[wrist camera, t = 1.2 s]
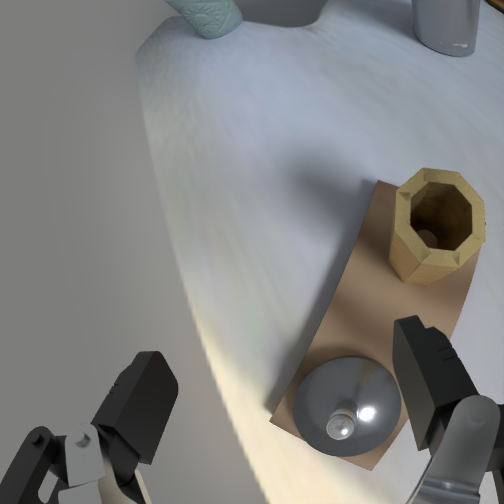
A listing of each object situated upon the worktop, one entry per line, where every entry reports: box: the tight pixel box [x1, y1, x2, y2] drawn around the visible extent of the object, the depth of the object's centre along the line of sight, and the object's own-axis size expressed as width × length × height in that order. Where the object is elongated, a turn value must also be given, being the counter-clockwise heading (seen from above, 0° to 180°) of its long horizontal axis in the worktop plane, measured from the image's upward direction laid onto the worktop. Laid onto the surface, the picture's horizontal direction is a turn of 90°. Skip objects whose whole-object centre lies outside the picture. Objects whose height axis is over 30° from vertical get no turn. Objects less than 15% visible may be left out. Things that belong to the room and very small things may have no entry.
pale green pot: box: [165, 0, 243, 39], centre depth 36 cm, size 10×10×12 cm
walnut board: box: [269, 180, 486, 471], centre depth 20 cm, size 24×11×5 cm, turn 154°
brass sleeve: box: [388, 168, 485, 286], centre depth 17 cm, size 5×5×10 cm
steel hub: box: [293, 355, 402, 457], centre depth 18 cm, size 9×9×6 cm
